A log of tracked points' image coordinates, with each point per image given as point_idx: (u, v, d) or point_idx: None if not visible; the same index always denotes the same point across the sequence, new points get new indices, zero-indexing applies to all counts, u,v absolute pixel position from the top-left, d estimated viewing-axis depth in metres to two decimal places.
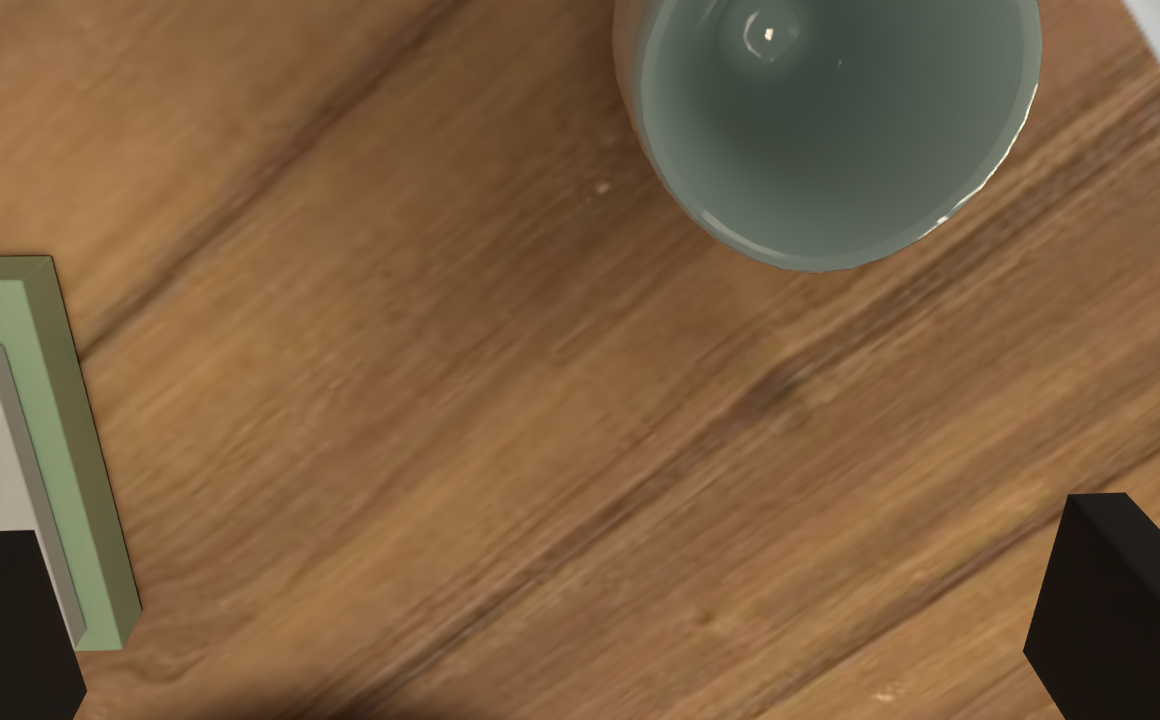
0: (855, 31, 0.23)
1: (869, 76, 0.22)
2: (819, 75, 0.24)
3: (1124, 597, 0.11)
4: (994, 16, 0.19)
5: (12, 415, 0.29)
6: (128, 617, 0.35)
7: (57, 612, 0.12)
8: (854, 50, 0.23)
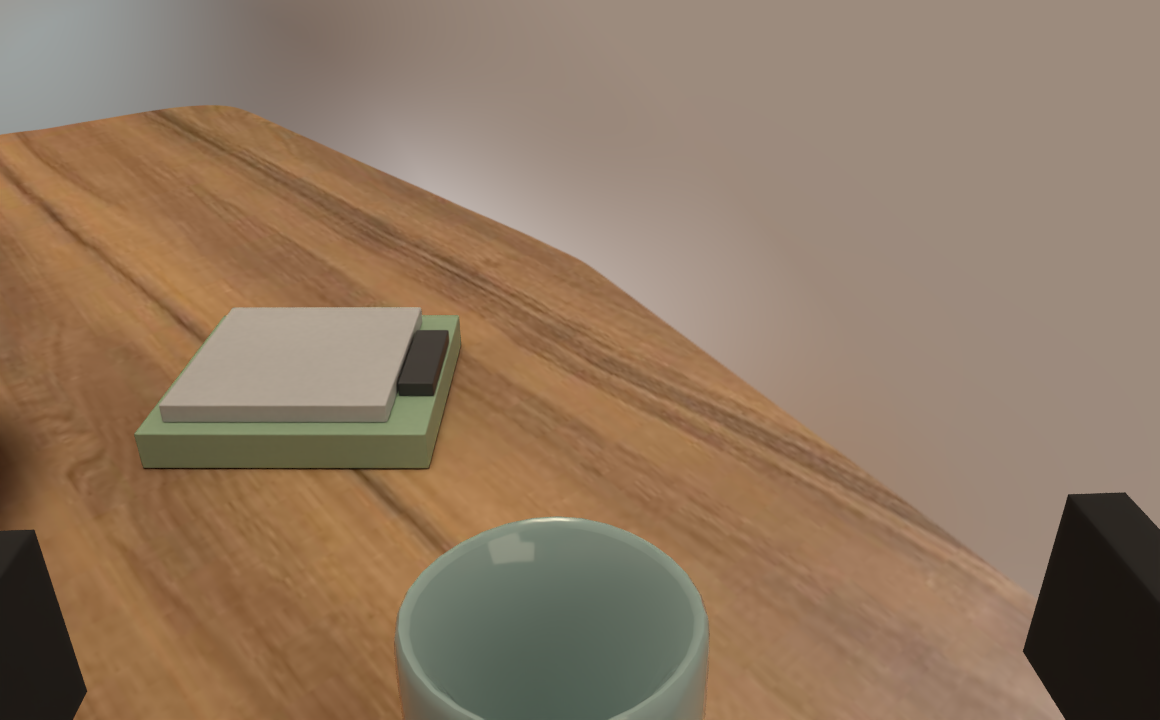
0: None
1: None
2: None
3: (1124, 596, 0.11)
4: None
5: (342, 412, 0.47)
6: (151, 450, 0.47)
7: (58, 613, 0.12)
8: None
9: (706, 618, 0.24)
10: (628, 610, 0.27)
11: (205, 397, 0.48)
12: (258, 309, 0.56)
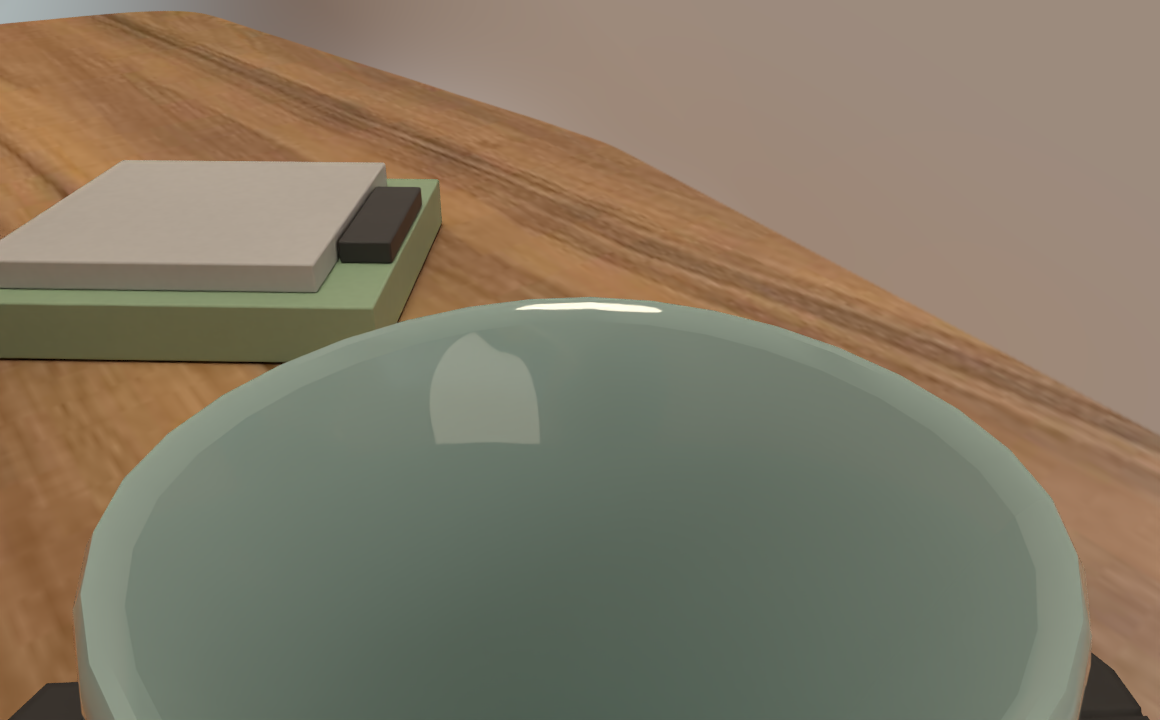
0: None
1: None
2: None
3: None
4: None
5: (248, 275, 0.31)
6: None
7: None
8: None
9: (1060, 517, 0.08)
10: (772, 521, 0.10)
11: (43, 252, 0.31)
12: (157, 162, 0.40)
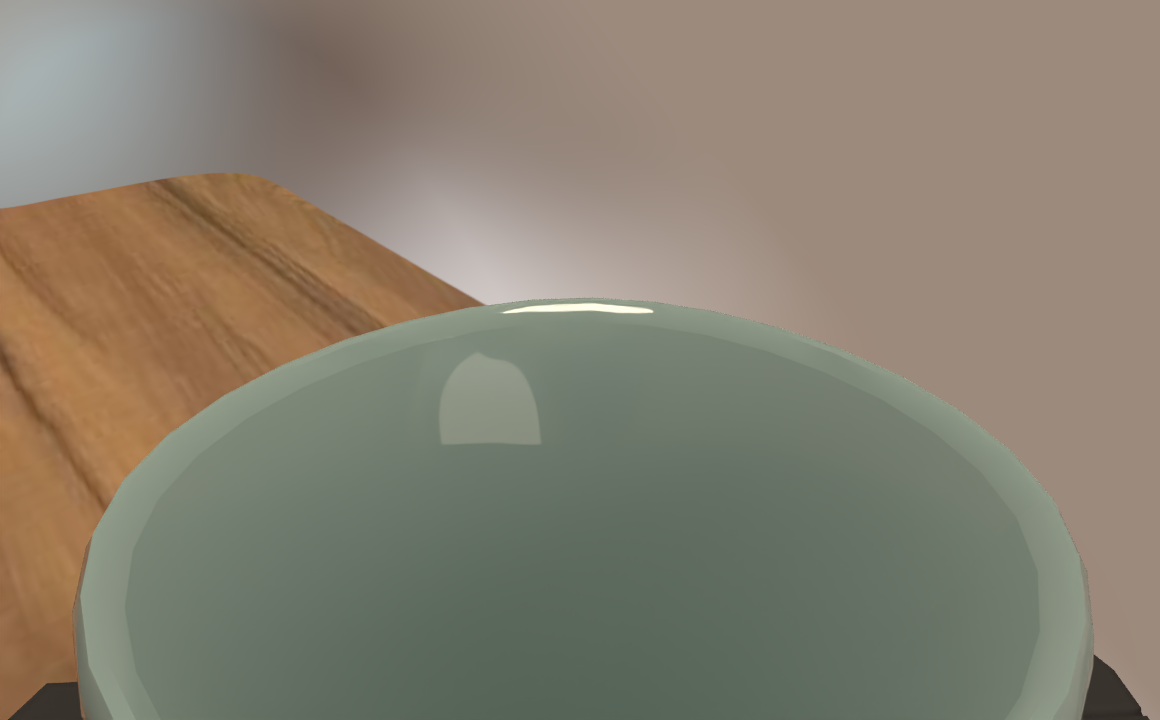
0: None
1: None
2: None
3: None
4: None
5: None
6: None
7: None
8: None
9: None
10: (773, 522, 0.10)
11: None
12: None
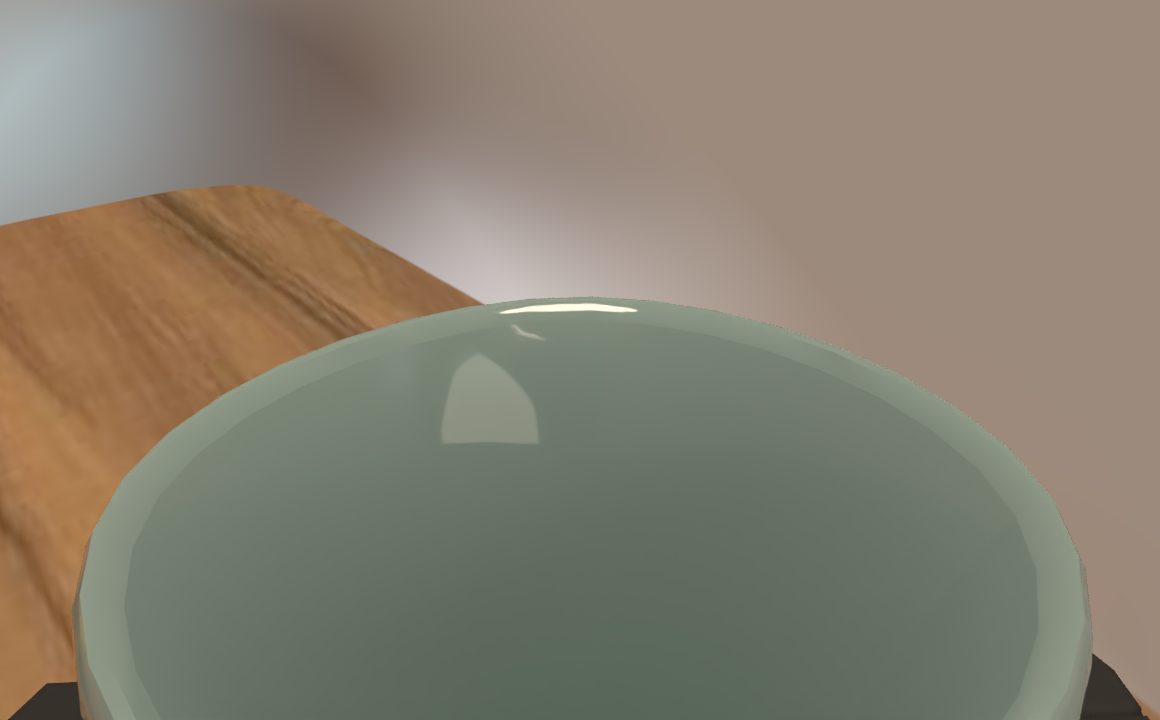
0: None
1: None
2: None
3: None
4: None
5: None
6: None
7: None
8: None
9: (1061, 517, 0.08)
10: (773, 521, 0.10)
11: None
12: None
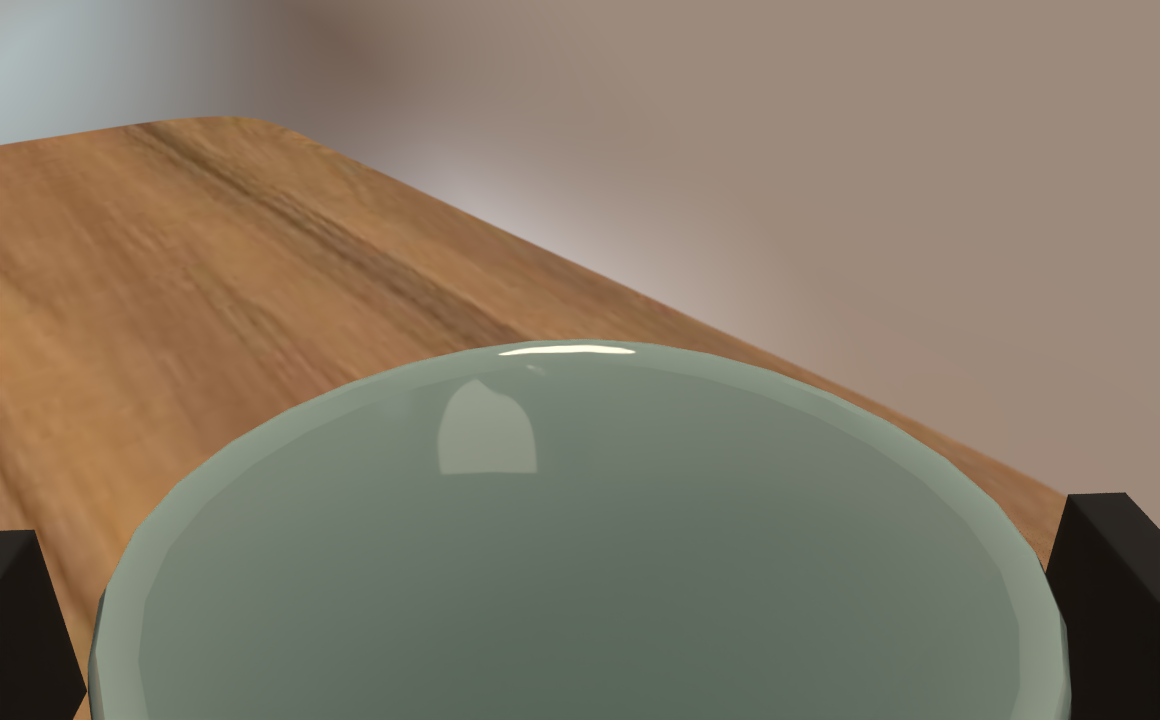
0: None
1: None
2: None
3: (1124, 597, 0.11)
4: None
5: None
6: None
7: (57, 612, 0.12)
8: None
9: (1044, 572, 0.08)
10: (766, 562, 0.11)
11: None
12: None
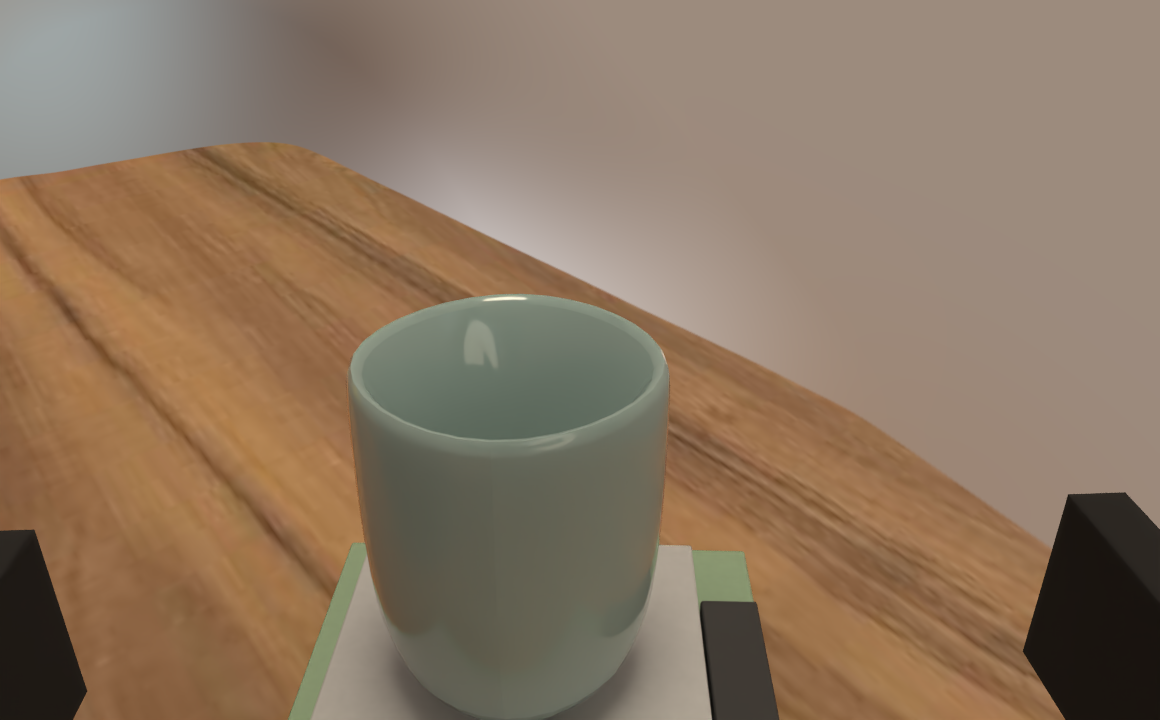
0: None
1: None
2: None
3: (1124, 597, 0.11)
4: None
5: None
6: None
7: (57, 613, 0.12)
8: None
9: (666, 366, 0.24)
10: (590, 383, 0.26)
11: None
12: None
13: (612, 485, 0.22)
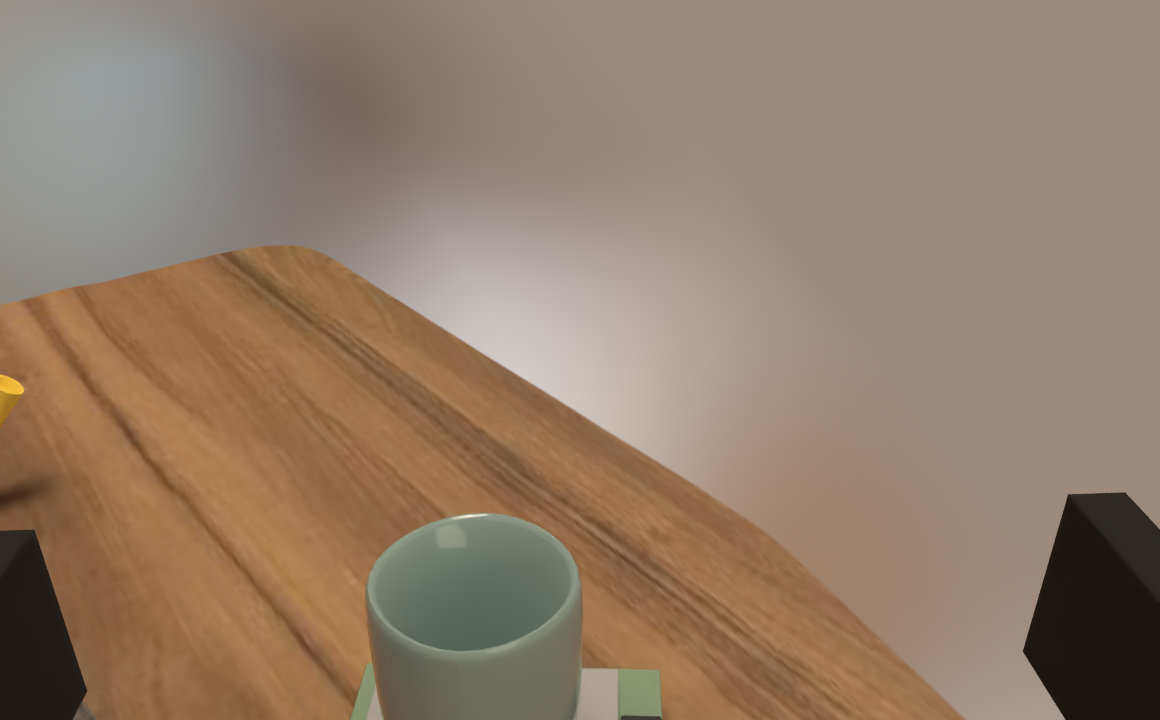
0: None
1: None
2: None
3: (1124, 597, 0.11)
4: None
5: None
6: None
7: (57, 613, 0.12)
8: None
9: (578, 583, 0.35)
10: (532, 580, 0.38)
11: None
12: None
13: (539, 671, 0.34)
